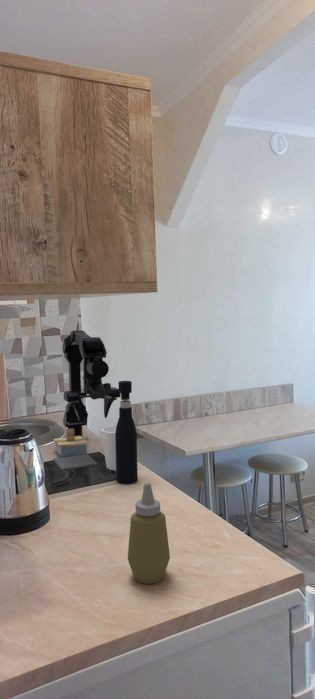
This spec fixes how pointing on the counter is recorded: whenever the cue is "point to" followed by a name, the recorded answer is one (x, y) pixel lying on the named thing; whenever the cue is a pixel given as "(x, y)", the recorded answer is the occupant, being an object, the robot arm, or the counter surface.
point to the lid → (70, 440)
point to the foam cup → (109, 446)
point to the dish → (71, 450)
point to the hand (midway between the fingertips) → (92, 419)
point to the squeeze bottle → (148, 540)
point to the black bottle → (126, 439)
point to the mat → (74, 461)
